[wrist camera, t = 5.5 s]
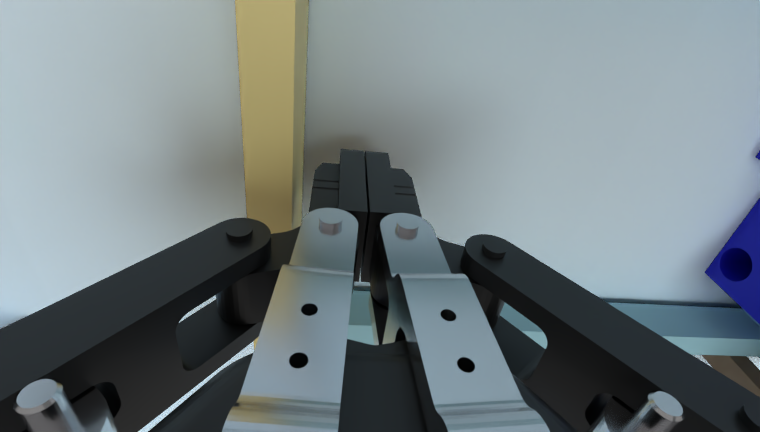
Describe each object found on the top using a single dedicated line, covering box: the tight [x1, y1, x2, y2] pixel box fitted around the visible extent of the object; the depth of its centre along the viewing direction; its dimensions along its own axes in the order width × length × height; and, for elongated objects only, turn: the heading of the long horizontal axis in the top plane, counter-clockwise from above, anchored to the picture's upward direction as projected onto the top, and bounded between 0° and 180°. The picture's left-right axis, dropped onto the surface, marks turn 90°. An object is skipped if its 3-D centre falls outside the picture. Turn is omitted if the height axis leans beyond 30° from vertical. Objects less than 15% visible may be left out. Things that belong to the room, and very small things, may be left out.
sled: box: [235, 0, 760, 358], centre depth 14 cm, size 16×25×4 cm, turn 83°
